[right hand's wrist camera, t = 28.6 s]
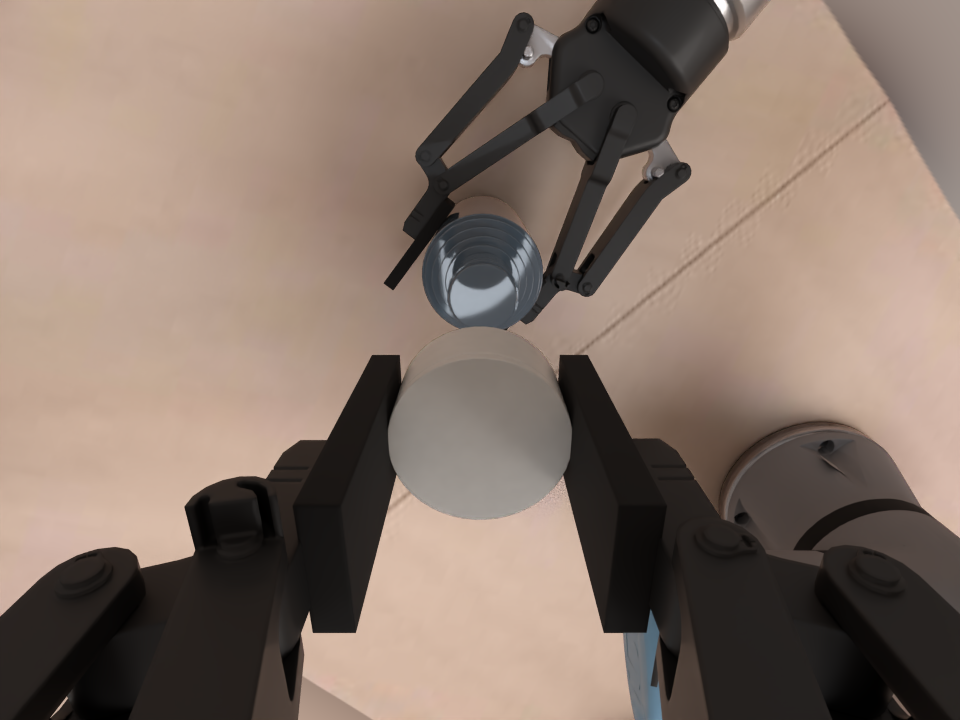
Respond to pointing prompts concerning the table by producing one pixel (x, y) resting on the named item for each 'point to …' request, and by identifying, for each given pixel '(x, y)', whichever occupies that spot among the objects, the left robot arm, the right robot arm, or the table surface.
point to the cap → (480, 425)
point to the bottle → (482, 266)
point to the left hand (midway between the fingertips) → (437, 314)
